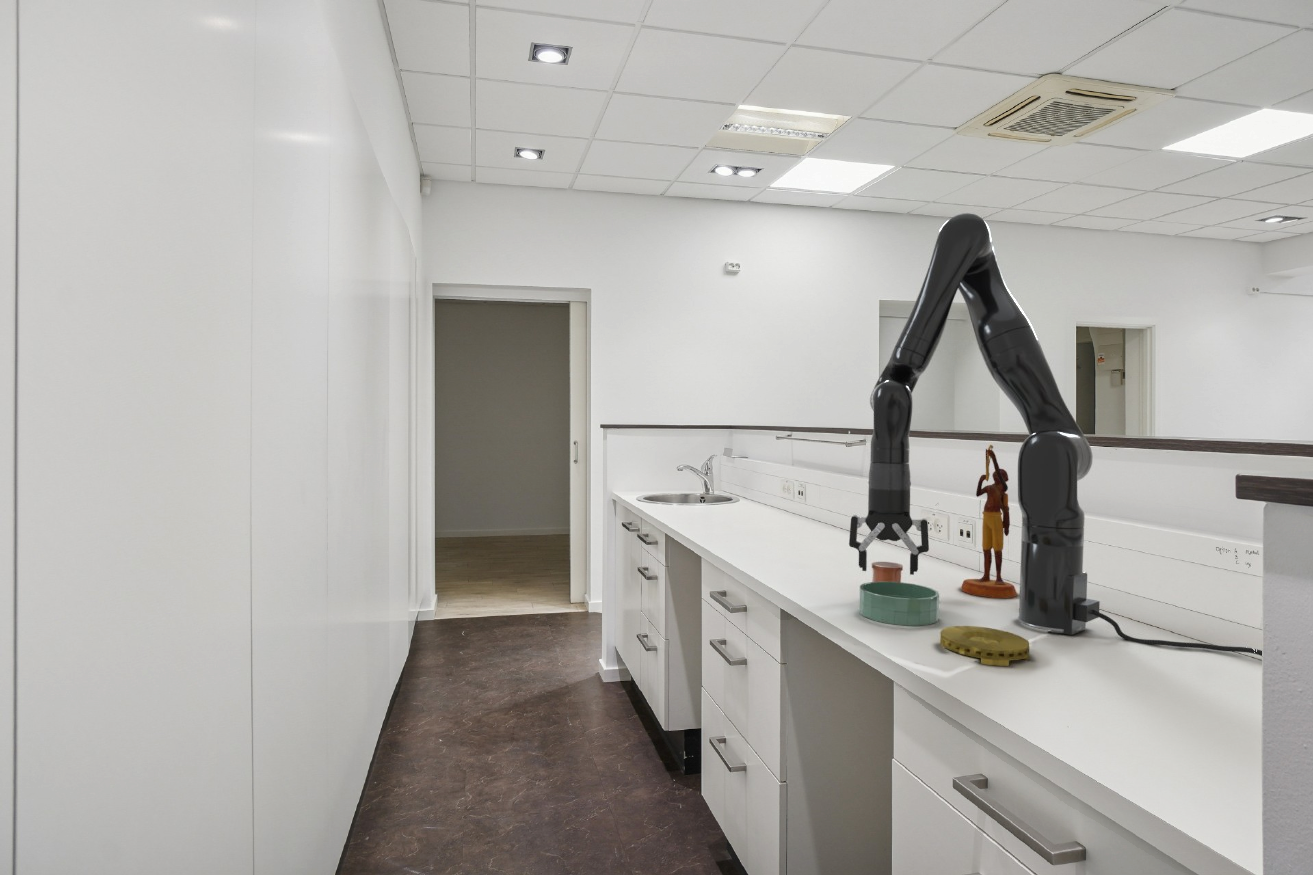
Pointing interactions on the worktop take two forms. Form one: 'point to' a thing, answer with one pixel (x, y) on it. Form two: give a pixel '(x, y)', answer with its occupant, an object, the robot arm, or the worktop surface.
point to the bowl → (899, 603)
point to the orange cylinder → (886, 571)
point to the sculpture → (992, 533)
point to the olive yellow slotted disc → (985, 644)
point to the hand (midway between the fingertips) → (888, 572)
